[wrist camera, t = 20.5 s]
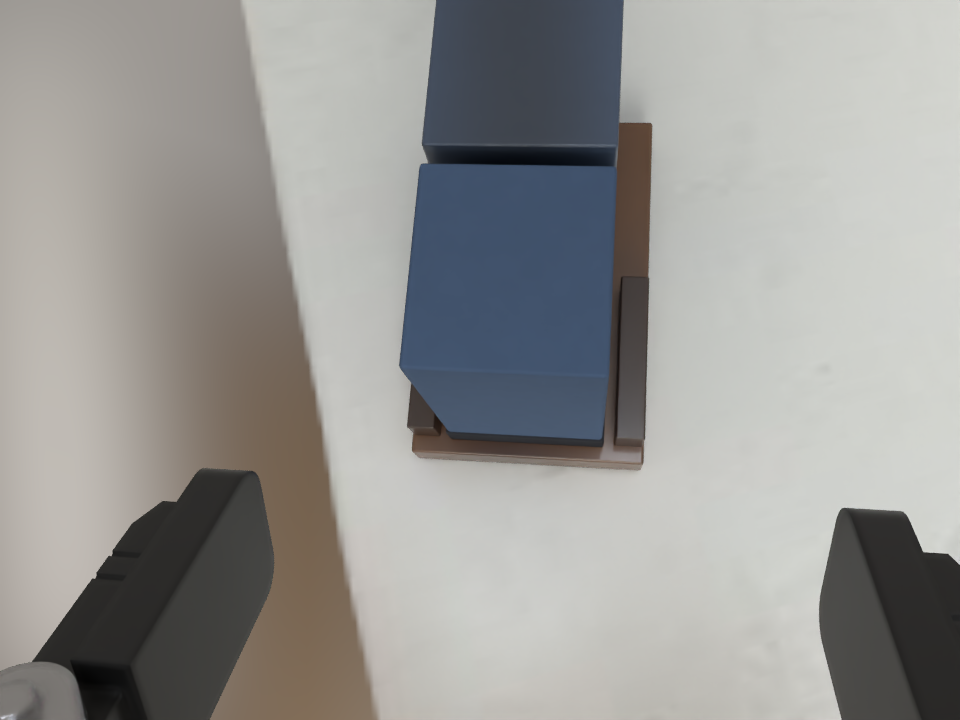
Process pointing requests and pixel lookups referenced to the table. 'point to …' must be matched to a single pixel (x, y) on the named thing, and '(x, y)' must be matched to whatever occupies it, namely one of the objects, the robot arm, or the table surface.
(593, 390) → the blue rectangular block
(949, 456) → the table surface
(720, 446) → the table surface
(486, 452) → the stand
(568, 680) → the table surface
